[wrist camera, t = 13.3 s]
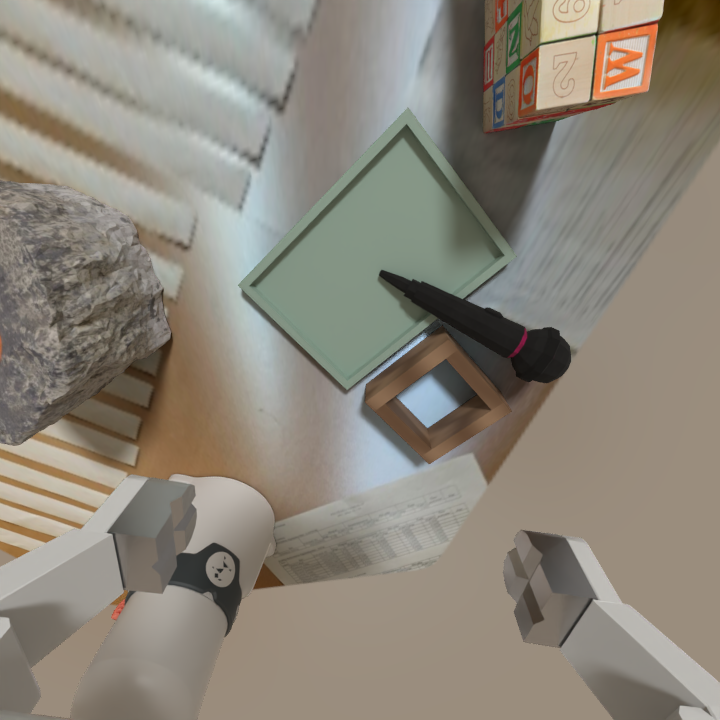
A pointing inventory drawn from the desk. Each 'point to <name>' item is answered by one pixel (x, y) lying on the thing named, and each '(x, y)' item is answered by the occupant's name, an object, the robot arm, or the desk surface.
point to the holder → (455, 424)
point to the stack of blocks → (564, 57)
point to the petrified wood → (68, 303)
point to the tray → (377, 254)
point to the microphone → (492, 330)
